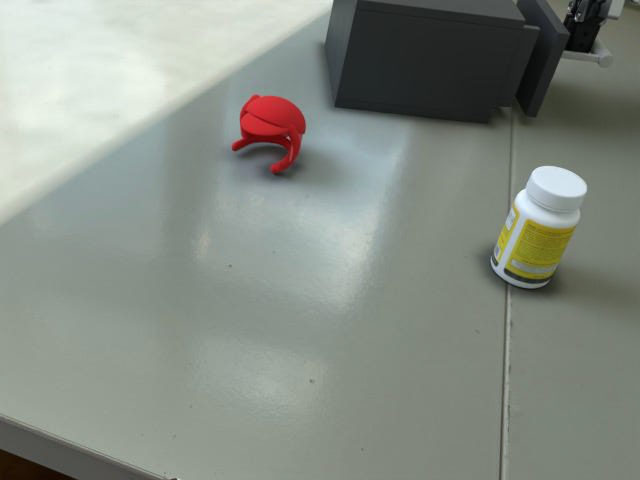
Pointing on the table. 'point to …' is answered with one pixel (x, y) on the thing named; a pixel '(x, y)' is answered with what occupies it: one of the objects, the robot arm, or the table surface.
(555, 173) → the supplement bottle
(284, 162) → the red domed clip
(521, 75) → the drawer
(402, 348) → the table surface
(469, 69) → the cabinet
